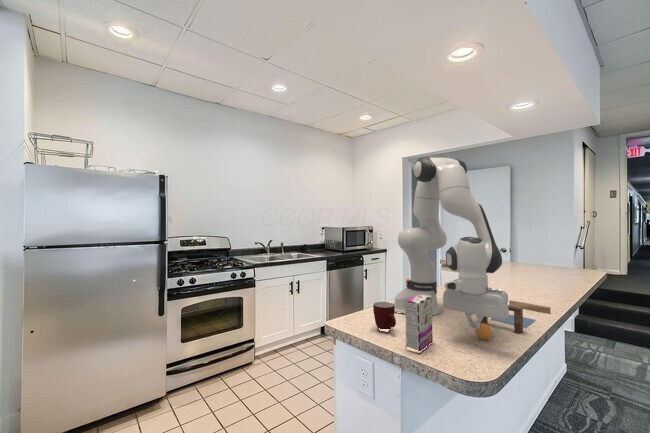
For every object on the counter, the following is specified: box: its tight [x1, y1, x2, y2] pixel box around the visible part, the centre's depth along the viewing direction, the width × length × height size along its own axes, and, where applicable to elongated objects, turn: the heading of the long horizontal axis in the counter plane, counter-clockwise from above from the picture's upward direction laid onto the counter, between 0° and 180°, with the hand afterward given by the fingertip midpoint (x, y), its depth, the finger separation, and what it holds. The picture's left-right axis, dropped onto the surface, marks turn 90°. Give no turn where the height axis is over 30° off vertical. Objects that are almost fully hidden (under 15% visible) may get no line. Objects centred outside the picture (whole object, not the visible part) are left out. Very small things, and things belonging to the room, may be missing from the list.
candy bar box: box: [404, 294, 434, 351], centre depth 101 cm, size 11×5×16 cm, turn 139°
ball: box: [474, 323, 493, 341], centre depth 107 cm, size 6×6×6 cm
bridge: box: [480, 304, 524, 335], centre depth 117 cm, size 3×14×9 cm, turn 41°
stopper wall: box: [508, 299, 551, 315], centre depth 141 cm, size 2×16×2 cm, turn 41°
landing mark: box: [489, 313, 536, 329], centre depth 126 cm, size 13×13×1 cm
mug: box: [372, 301, 397, 330], centre depth 115 cm, size 10×8×10 cm
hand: (474, 327), depth 100 cm, fingers closed
